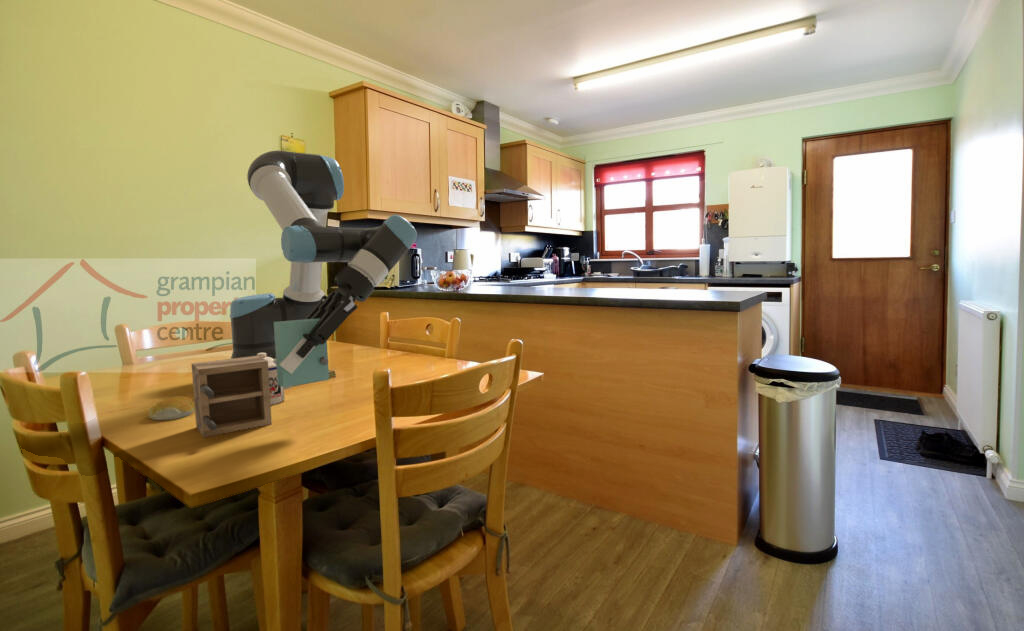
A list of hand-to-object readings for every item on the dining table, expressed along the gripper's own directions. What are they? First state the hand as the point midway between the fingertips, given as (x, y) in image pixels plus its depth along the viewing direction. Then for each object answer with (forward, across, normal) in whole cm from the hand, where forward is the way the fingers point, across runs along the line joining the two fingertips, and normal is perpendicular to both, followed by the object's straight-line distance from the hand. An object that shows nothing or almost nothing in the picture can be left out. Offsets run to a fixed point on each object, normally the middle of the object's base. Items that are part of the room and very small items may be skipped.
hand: (282, 367), depth 98 cm
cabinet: (+14, +9, -4) cm, 17 cm away
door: (0, 0, -5) cm, 5 cm away
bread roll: (+20, +30, +1) cm, 36 cm away
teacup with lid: (+6, +27, -12) cm, 30 cm away
